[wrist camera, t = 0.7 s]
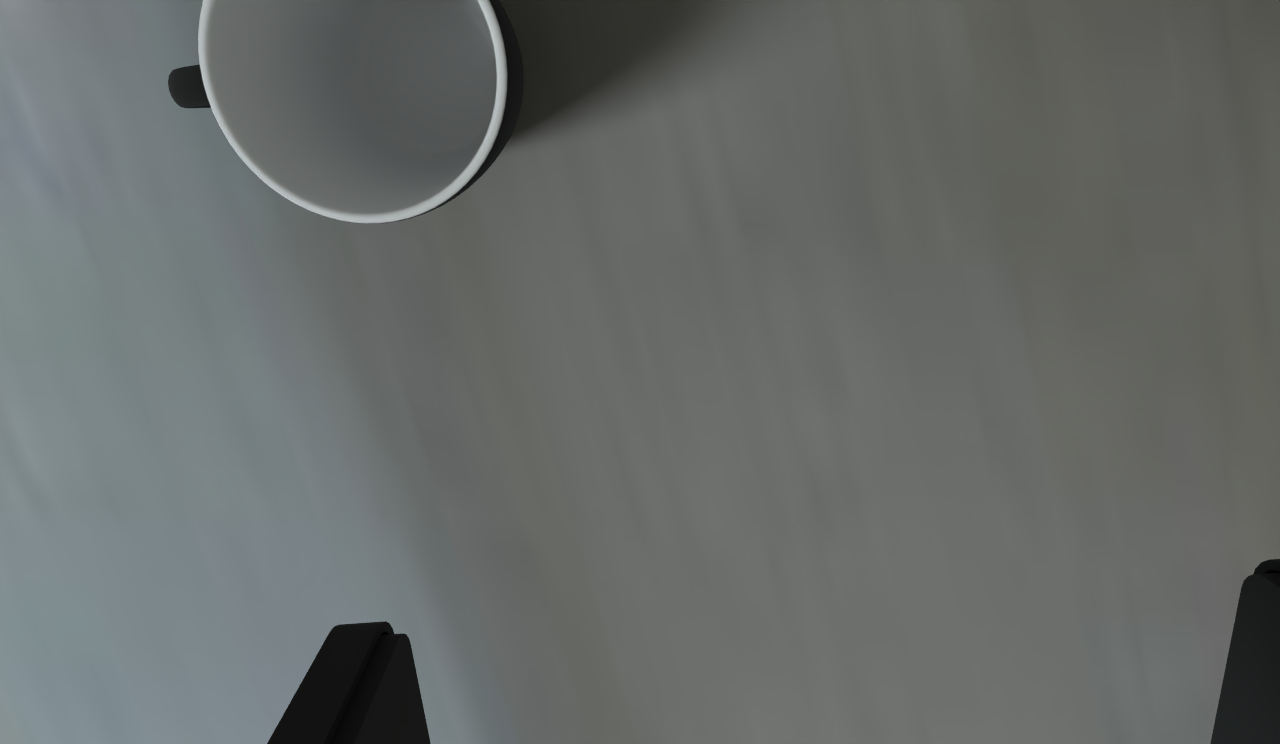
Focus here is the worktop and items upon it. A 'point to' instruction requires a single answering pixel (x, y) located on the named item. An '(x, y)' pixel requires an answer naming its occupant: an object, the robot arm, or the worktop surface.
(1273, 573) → the robot arm
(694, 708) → the worktop surface
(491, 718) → the worktop surface
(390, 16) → the mug
